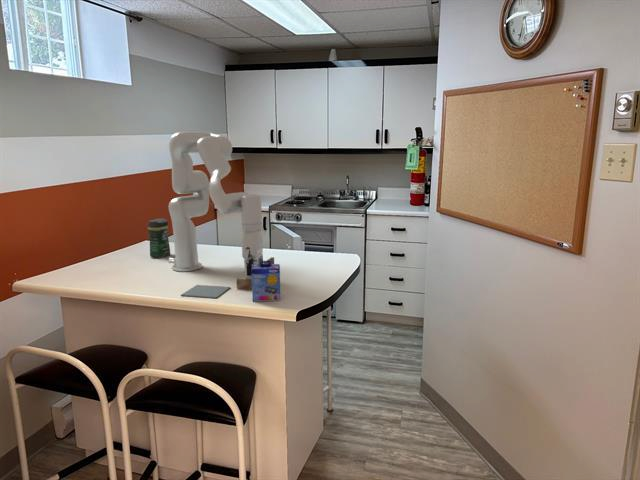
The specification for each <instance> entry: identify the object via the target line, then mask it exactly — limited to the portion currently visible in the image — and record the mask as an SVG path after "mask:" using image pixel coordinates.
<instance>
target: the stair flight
mask: <svg viewBox="0 0 640 480" xmlns="http://www.w3.org/2000/svg"><path fill="white" fill-rule="evenodd" d="M266 261H270V262H271V264H275V257H274V256H273V257H270V258H269V259H267V260H266ZM263 264H269V263H267V262H264V263H263ZM236 290H242V291H243V290H245V291H252V279H245V278H243V277H242V278H240V277H237V278H236Z"/></svg>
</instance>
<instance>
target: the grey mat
mask: <svg viewBox="0 0 640 480" xmlns="http://www.w3.org/2000/svg"><path fill="white" fill-rule="evenodd" d="M230 289H231V286H224V285H223V286H221V285H205V284H196V285H194V286H193V287H191V288H190V289H188V290H186V291H185V292H183V293H181V294H180V296H181V297H191V298H201V299H202V298H204V299H216V300H217V299H218V298H220V296H222V295H223V294H225V293H226V292H227V291H229V290H230Z"/></svg>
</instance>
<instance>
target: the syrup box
mask: <svg viewBox="0 0 640 480" xmlns="http://www.w3.org/2000/svg"><path fill="white" fill-rule="evenodd" d="M263 253H264V252H263V251H262V248H261V249H259V250H258V251H256V257H255V258H254V265H260V261H264V257H263V256H264V254H263ZM249 257H252V256H249ZM249 260H251V262H252V259H249ZM243 262H244V265H243V266H244V276H245V277H244V279H252V276H247V266H246V262H245V260H244V259H243ZM262 264H263V263H262Z"/></svg>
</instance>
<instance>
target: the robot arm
mask: <svg viewBox="0 0 640 480" xmlns="http://www.w3.org/2000/svg"><path fill="white" fill-rule="evenodd" d="M168 148H169V155H170V159H171V185H172V187H171V188H172V189H173V192H174V193H176V194H178V195H183V196H178V197H175V198H173V199H171V200H170V201H169V203H168V212H169V215H170V220H171V225H172V226H171V227H172V233H173V234H172V235H173V242H174V243H173V245H174V257H169V258H168V264H173V265H172V270H173V271H175V272H192V271H197V270H199V269H201V268H202V267H203V263H201V262H199V256H198V243H197V242H198V240H197V230H196V226H195V224H194V223H193V220H191V219H192V218H196V217H202V216H205V215H206V214H207V213H208V211H209V207H210V199H211V201H212V203H213V205H214V206H215V208H216V209H217V211H218V212H219V213H220V214H222V215H230V214H231V215H232V214H236V213H241V230H242V231H241V232H242V236H241V238H242V239H241V240H242V241H241V256H242V258H243V261H244V260H245V262H246V266H247V276H252V271H251V269H252V265H254V258H255V257H256V251H258V250H259V249H261V248H262V252H263V251H264V250H263V249H264V247H263V236H262V235H263V233H262V232H263V214H262V213H263V212H262V211H263V210H262V199H261V196H260V195H259V194H256V193H247V192H244V191H239V192H231V193H226V192H225V191H224V189H223V187H222V184H221V180H222V179H223V178H224V179H225V177H227V176H228V175H229V173H230V172H231V170H232V167H231V165H230V163H229V160H227V157H229V156H231V155H232V153H233V144H232V143H231V141H230V139H229V138H228V137H226V136H224V135H220V134H217V133H214V132H210V131H179V132H176V133H173V134H172V135H171V137H170V138H169V144H168ZM192 153H194V154H195V153H196V154H197V153H198V155H199V156H200V159H201V160H202V162H203V164H204V166H205V168H206V169H207V171H208V173H209V176H210V180H209V178H208V175H207V174H206V172H204V171H202V170H194V161H193V159H192V157H191V155H190V154H192ZM187 194H192V195H187ZM184 195H186V196H184ZM249 256H252V257H249ZM249 259H252V262H251V260H249Z"/></svg>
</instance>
